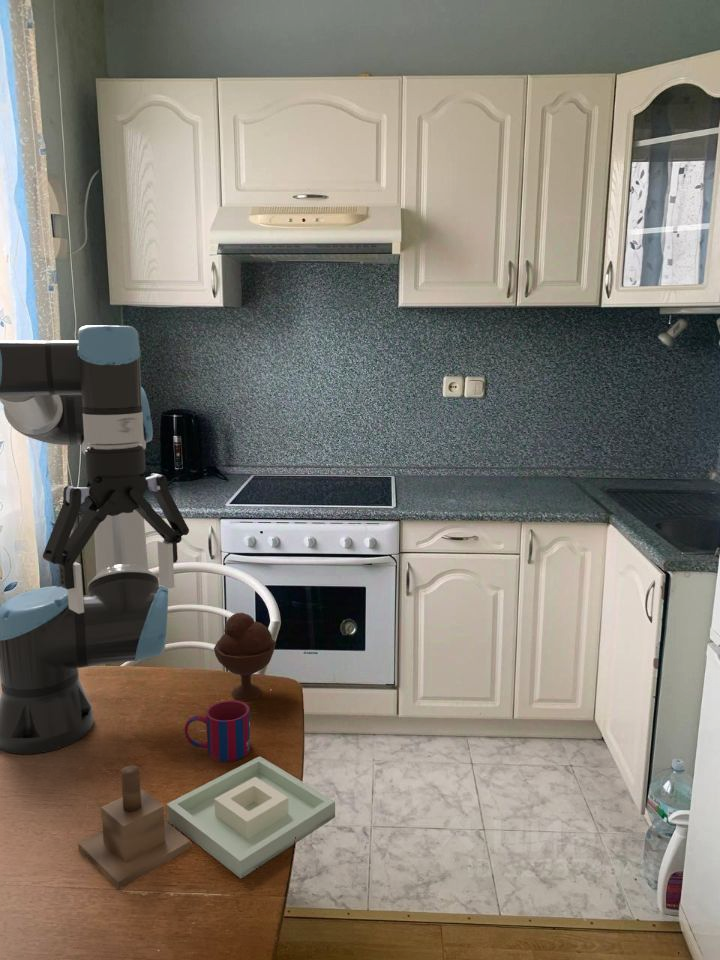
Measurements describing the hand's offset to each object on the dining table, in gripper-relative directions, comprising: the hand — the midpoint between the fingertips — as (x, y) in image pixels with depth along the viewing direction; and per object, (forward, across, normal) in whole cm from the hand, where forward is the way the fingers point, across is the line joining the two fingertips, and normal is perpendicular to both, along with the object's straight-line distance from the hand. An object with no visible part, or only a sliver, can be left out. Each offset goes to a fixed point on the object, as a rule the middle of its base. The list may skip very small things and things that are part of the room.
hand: (123, 597), depth 102 cm
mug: (+29, +14, -1) cm, 32 cm away
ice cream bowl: (+29, +29, +11) cm, 42 cm away
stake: (+29, -7, -12) cm, 32 cm away
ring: (+28, +7, -18) cm, 34 cm away
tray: (+29, +7, -18) cm, 35 cm away
